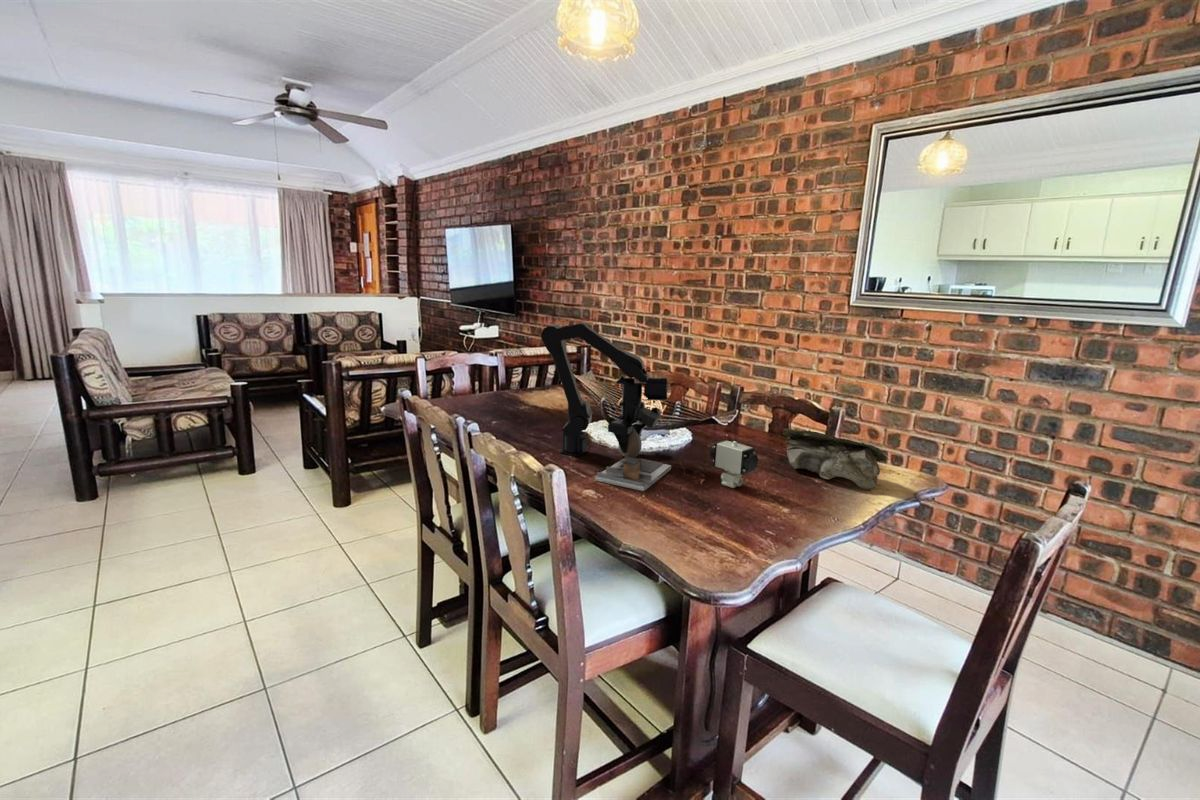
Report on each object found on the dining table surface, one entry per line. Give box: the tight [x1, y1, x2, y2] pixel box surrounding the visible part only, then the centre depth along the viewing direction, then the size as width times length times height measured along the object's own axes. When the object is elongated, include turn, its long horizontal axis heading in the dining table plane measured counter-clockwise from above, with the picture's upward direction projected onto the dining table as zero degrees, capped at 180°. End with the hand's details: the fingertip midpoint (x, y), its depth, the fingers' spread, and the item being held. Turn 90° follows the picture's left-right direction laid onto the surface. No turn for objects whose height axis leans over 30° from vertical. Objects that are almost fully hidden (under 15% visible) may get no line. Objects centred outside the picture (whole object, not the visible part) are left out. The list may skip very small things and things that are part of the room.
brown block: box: [623, 457, 640, 480], centre depth 140 cm, size 3×4×5 cm
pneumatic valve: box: [709, 439, 759, 489], centre depth 140 cm, size 6×12×12 cm, turn 42°
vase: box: [618, 427, 643, 458], centre depth 162 cm, size 7×7×9 cm
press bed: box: [594, 457, 672, 492], centre depth 147 cm, size 14×19×2 cm
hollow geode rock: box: [782, 428, 890, 490], centre depth 149 cm, size 28×13×15 cm
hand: (629, 449), depth 162 cm, fingers closed on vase, 7 cm apart
